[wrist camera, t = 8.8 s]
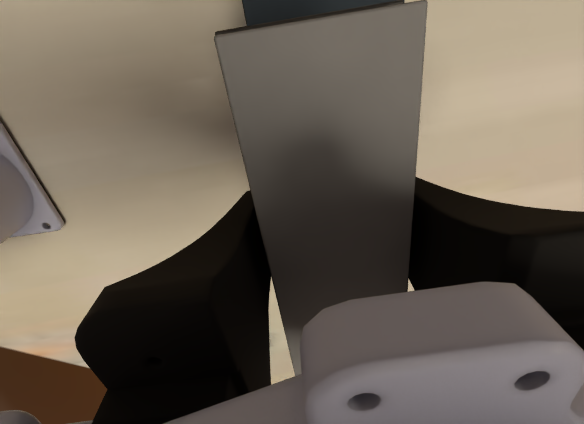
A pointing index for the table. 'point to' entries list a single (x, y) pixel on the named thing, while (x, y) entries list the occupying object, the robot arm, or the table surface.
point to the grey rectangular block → (330, 149)
